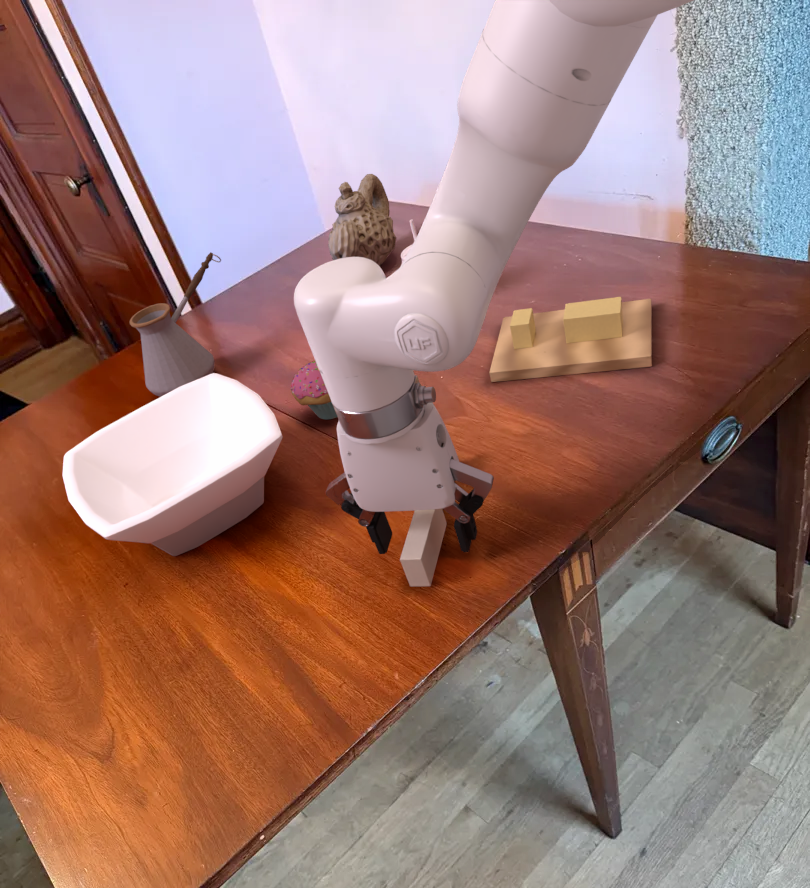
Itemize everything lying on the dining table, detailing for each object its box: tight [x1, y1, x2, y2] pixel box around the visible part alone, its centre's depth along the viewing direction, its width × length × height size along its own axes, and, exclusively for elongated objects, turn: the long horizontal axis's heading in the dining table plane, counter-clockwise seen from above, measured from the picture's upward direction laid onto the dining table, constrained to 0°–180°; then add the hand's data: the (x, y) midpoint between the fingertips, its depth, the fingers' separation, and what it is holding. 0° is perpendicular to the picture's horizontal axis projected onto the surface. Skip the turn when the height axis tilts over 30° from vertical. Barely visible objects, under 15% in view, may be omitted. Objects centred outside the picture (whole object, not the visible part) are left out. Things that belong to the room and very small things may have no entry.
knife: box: [399, 508, 448, 587], centre depth 80 cm, size 19×2×4 cm, turn 166°
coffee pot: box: [129, 252, 222, 397], centre depth 117 cm, size 21×12×15 cm, turn 145°
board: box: [488, 298, 653, 383], centre depth 99 cm, size 20×14×2 cm
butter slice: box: [510, 307, 536, 349], centre depth 99 cm, size 2×4×4 cm, turn 166°
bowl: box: [61, 372, 284, 557], centre depth 91 cm, size 24×25×10 cm
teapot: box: [327, 173, 397, 268], centre depth 130 cm, size 21×12×15 cm, turn 159°
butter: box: [563, 296, 623, 343], centre depth 96 cm, size 7×4×4 cm, turn 76°
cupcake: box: [289, 360, 338, 421], centre depth 99 cm, size 9×8×12 cm
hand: (426, 543), depth 77 cm, fingers open, 8 cm apart
